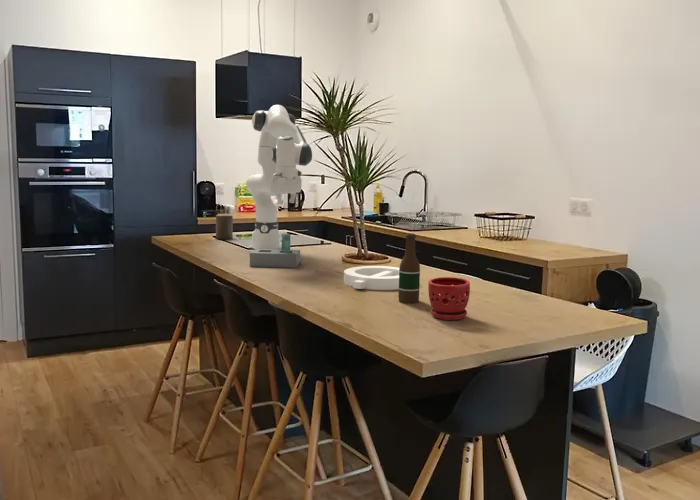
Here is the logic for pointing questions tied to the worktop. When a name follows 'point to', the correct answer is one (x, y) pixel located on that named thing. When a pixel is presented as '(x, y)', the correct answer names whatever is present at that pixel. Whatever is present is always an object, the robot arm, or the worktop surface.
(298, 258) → the socket block
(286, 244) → the teal peg
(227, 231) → the pillar candle
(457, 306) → the plant pot
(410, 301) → the beer bottle
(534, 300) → the worktop surface
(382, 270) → the ring with crossbar
